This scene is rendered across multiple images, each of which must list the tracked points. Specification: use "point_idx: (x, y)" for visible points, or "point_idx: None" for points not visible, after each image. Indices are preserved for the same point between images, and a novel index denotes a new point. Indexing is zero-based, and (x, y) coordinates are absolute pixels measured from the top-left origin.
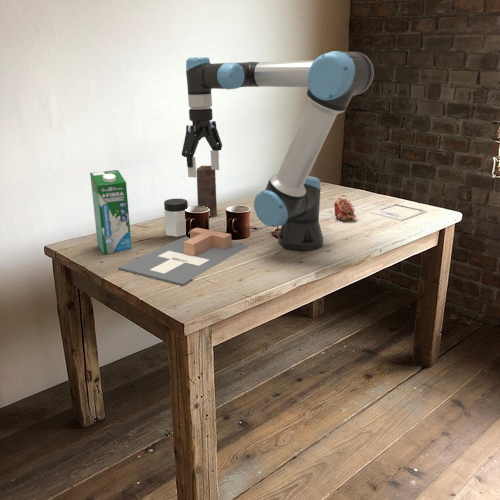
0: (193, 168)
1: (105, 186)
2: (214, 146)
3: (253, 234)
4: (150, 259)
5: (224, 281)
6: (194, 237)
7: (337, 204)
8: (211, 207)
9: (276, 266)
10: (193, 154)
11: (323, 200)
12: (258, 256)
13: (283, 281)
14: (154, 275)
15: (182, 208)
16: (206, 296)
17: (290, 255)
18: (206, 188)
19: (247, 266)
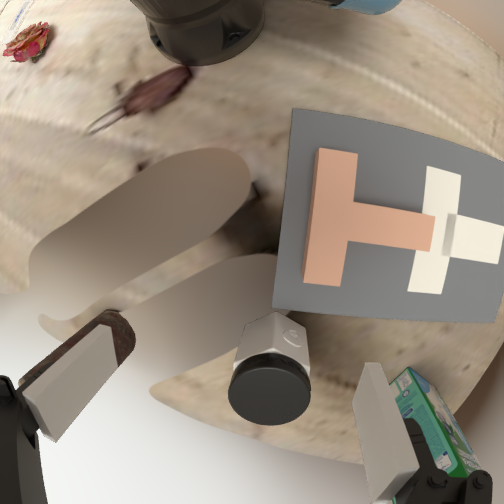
0: (393, 408)
1: None
2: (23, 438)
3: (186, 147)
4: (458, 295)
5: (483, 102)
6: (389, 242)
7: (20, 49)
8: (111, 327)
9: (375, 22)
10: (422, 490)
11: None
12: (342, 67)
13: (427, 6)
14: None
15: (289, 360)
16: None
17: (298, 11)
18: None
19: (408, 74)
